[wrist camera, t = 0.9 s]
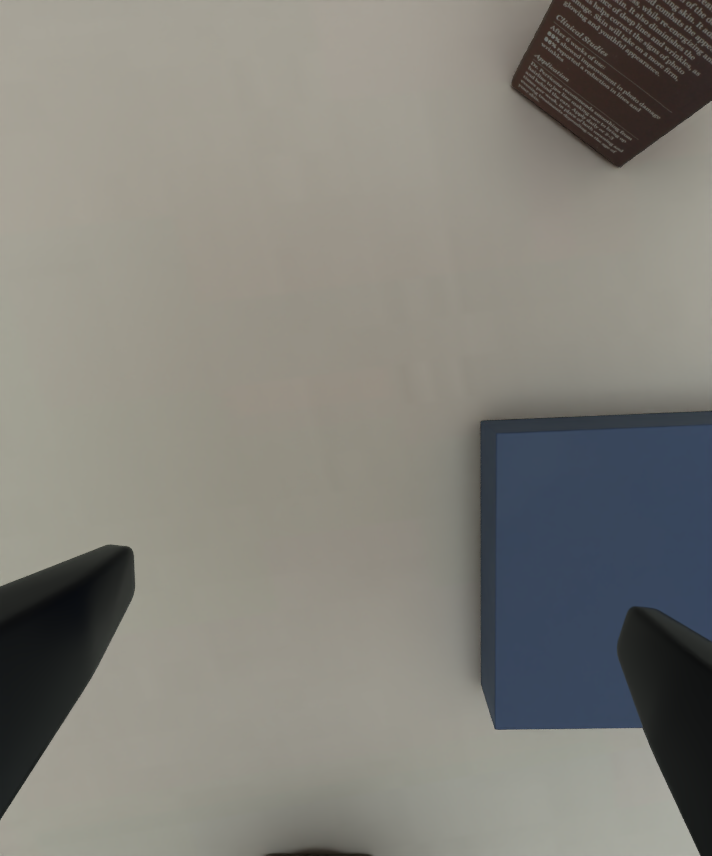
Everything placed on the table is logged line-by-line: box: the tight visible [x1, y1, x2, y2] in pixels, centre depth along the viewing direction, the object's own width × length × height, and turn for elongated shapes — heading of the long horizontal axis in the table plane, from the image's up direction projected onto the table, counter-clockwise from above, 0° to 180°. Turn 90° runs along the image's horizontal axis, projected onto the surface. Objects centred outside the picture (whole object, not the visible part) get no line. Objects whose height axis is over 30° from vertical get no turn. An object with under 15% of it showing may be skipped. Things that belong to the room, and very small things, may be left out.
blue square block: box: [481, 411, 712, 730], centre depth 22 cm, size 14×14×3 cm
